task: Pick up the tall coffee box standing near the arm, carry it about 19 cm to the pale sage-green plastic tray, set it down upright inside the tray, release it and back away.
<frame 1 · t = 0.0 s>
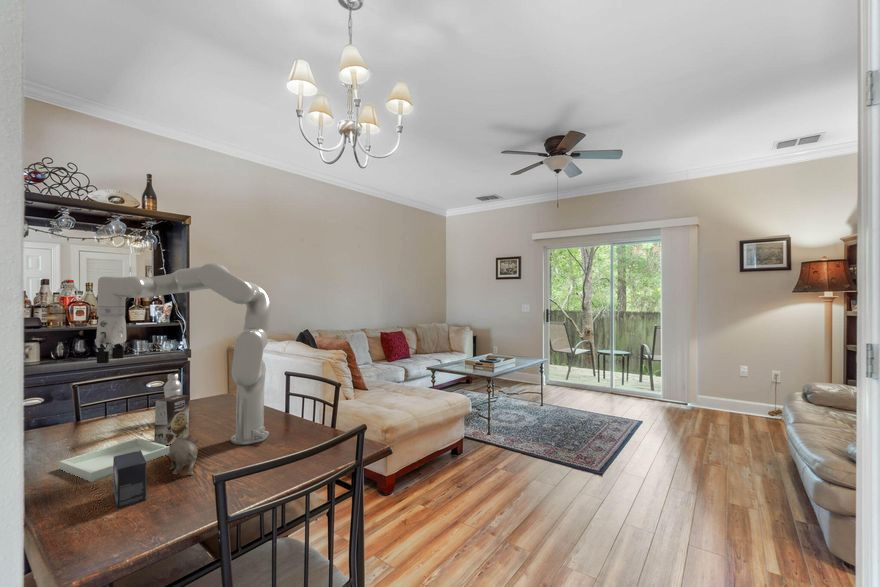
hand: (110, 360, 136), 31 cm above the table, tool pointing down, fingers open, 9 cm apart
coffee box: (171, 441, 146), on the table
small box: (129, 497, 106), on the table
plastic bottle: (172, 421, 168), on the table
rhinoceros figurine: (184, 467, 124), on the table
tray: (117, 461, 127), on the table
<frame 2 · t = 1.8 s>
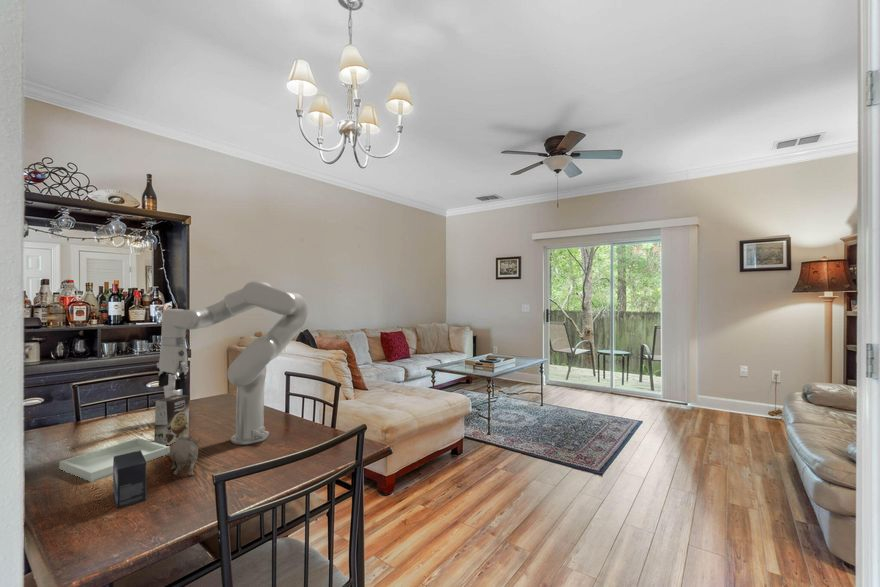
hand: (171, 387, 146), 20 cm above the table, tool pointing down, fingers open, 9 cm apart
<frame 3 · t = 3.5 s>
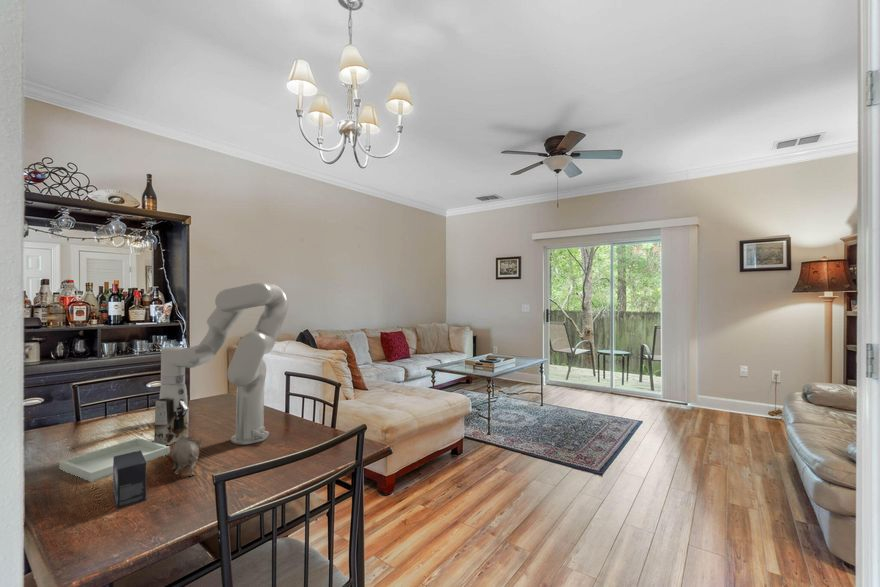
hand: (172, 427, 146), 5 cm above the table, tool pointing down, fingers closed on coffee box, 7 cm apart
coffee box: (171, 441, 146), on the table, touching gripper
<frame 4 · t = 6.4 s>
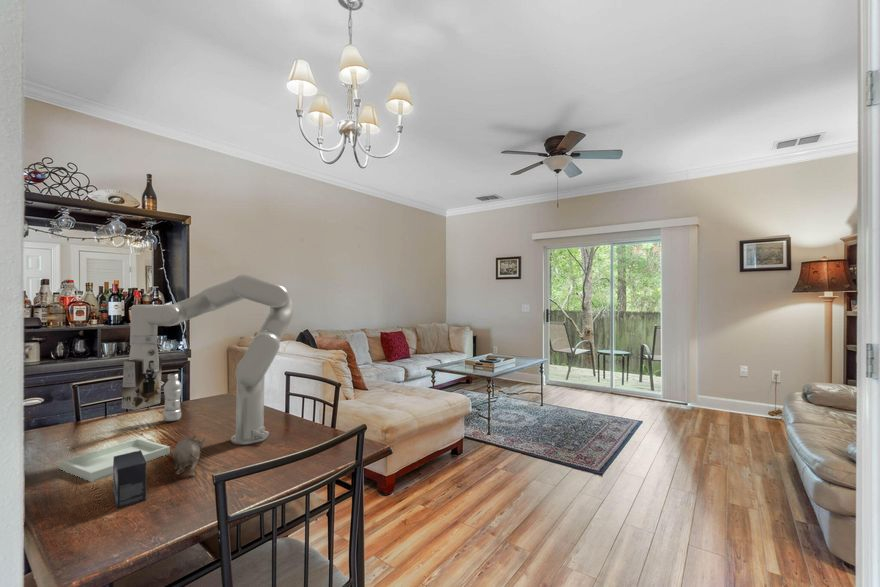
hand: (142, 391, 135), 21 cm above the table, tool pointing down, fingers closed on coffee box, 7 cm apart
coffee box: (141, 406, 135), point 16 cm above the table, touching gripper
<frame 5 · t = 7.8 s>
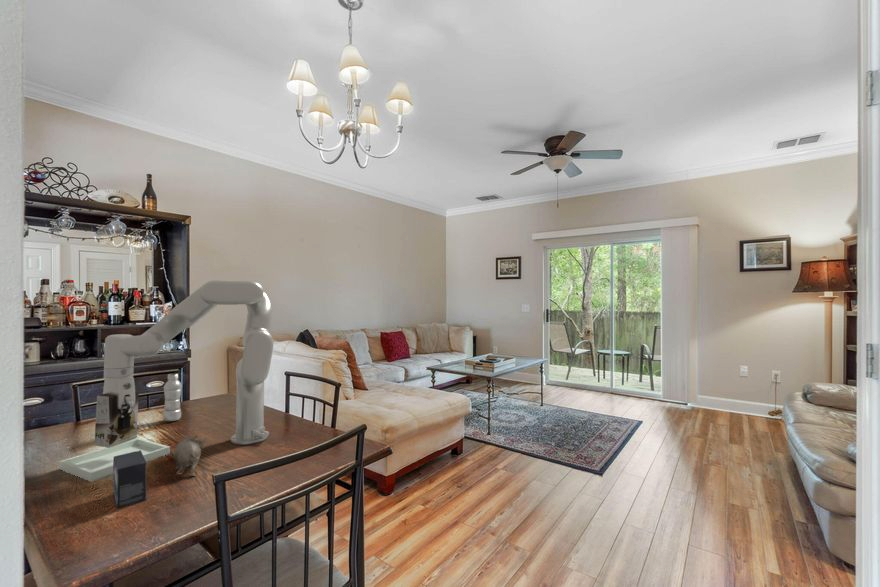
hand: (116, 426, 127), 11 cm above the table, tool pointing down, fingers closed on coffee box, 7 cm apart
coffee box: (116, 442, 127), point 6 cm above the table, touching gripper
when the fingers open (7 cm above the table, at t = 9.2 s): coffee box stays where it is, resting on tray.
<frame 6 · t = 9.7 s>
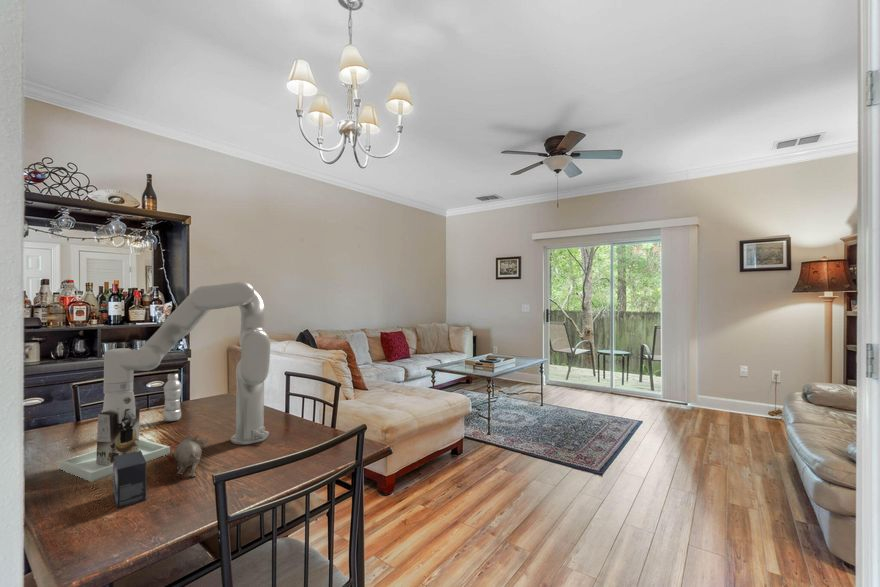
hand: (117, 439, 127), 7 cm above the table, tool pointing down, fingers open, 9 cm apart
coffee box: (118, 460, 127), resting on tray
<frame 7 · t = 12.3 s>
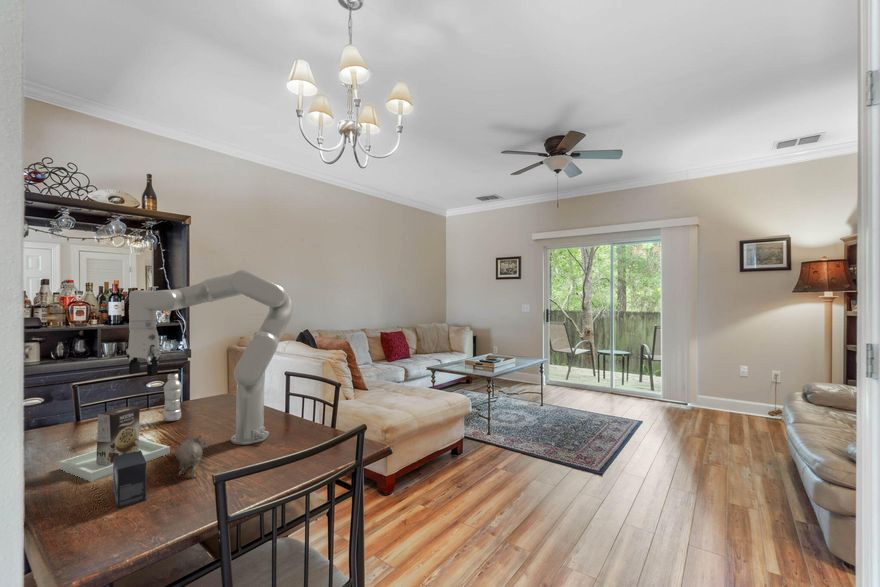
hand: (143, 374, 137), 27 cm above the table, tool pointing down, fingers open, 9 cm apart
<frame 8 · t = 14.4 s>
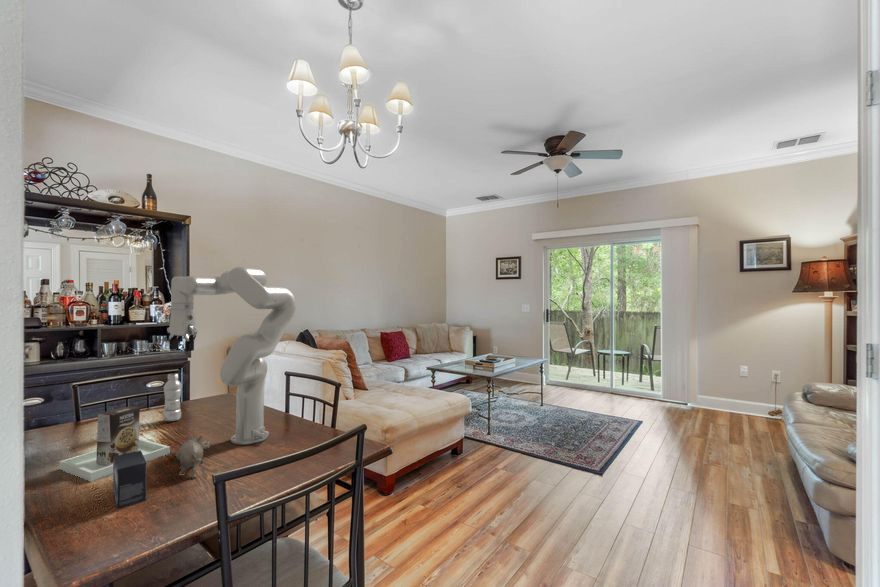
hand: (181, 350, 156), 32 cm above the table, tool pointing down, fingers open, 9 cm apart
at the end: coffee box inside the target area on the tray (0.2 cm from its centre), point 0.4 cm above the tray's base; coffee box tilted 0°; the gripper is holding nothing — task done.
